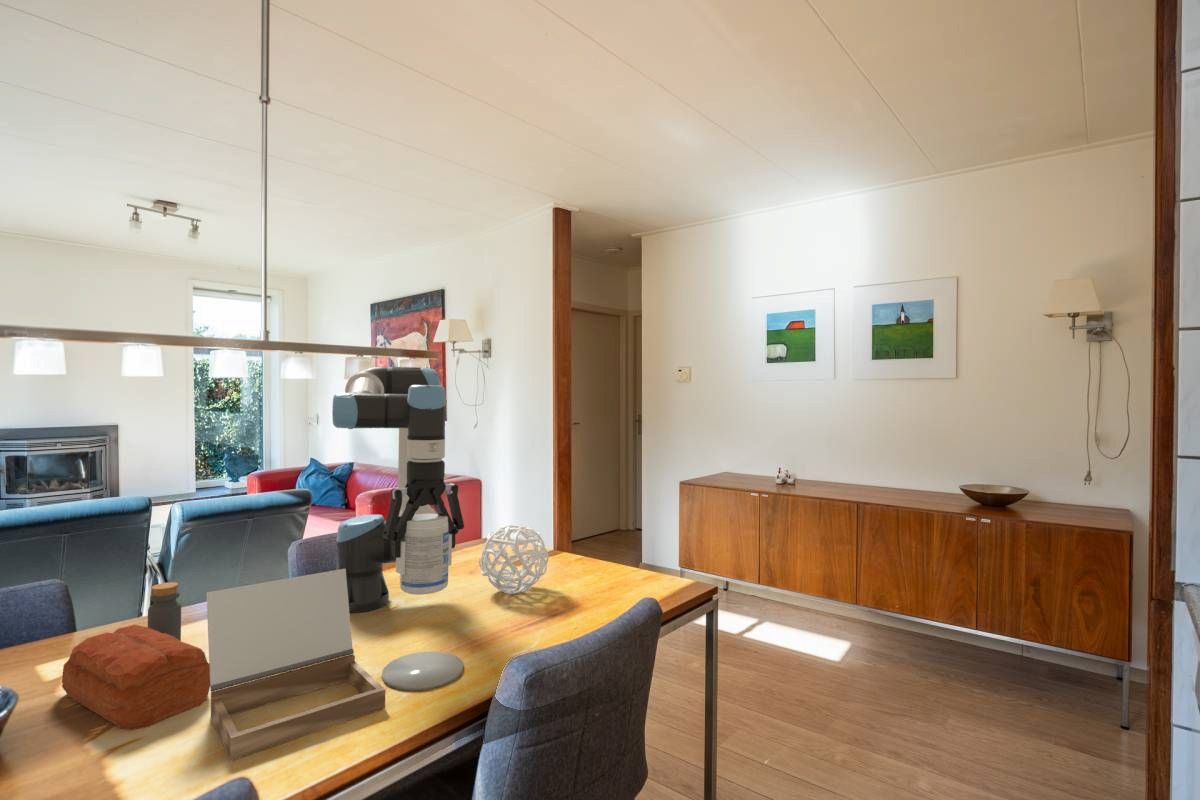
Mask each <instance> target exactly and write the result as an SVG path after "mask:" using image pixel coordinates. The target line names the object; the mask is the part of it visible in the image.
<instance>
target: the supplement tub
mask: <svg viewBox="0 0 1200 800" xmlns="http://www.w3.org/2000/svg"><path fill="white" fill-rule="evenodd" d="M406 529H407V530H406V532H405V534H404V536H403V538H402V540H403V541H405V542H406V552H405V574H403V575H401V574H399V577H400V578H399V582H400V583H399V585H400V586H399V587H400V589H401V591H402V592H404V593H406V594H410V595H429V594H430V595H431V594H435V593H439V592H441V591H443V590H445V589H446V588H447V587H448V585H449V566H448V535H449V530H448V517H447V516H441V515H438V513H435V514H415V515H414V516H413V518H412V520H411V521H407V528H406Z"/></svg>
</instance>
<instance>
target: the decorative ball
mask: <svg viewBox="0 0 1200 800" xmlns="http://www.w3.org/2000/svg"><path fill="white" fill-rule="evenodd" d="M512 533H513V534H514V536H513V538H511V534H512ZM519 535H522V536H519ZM499 538H502V539H499ZM529 543H530V544H531V545H532V546H533V549H527V547H528V545H529ZM495 545H496V546H497V549H494V547H495ZM508 545H510V548H511V551H512V552H513V554H511V556H509V553H508V552H507V550H506V548H508V547H507V546H508ZM519 546H522V548H521V549H520V547H519ZM539 548H540V550H539ZM491 554H492V555H493V556H494V557H493V559H492V560H491V558H490V555H491ZM524 556H525V557H524ZM501 557H502V558H503V560H499V559H500V558H501ZM528 558H529V559H528ZM549 559H550V557H549V552H548V549H546V546H545V542H544V540H543V538H542V537H541V533H539V532H538V531H536V530H535V529H534V528H531V527H527V526H525V525H522V524H514V525H512V524H511V525H501V526H500V527H499V528H498V529H497V530H495V531H493V532H490V533H488V535H487V536H486V541H485V543H484V545H483V547H482V551H481V556H480V558H479V560H478V563H479V567H480V570H481V571H480V573H481V575H482V576H483V577H486V576H487V577H488V578H487V580H488V582H489V583H490V584H491V585H492V586H493V587H494V588H495V589H497V590H499V591H500V592H502V593H505V594H507V595H516V594H519V593H523V594H524V593H526V592H528V591H529V589H530V587H533V586H534V585H535V584H536V583H537V582H538V581H539V580H540V578H541V576H544V575H545V574H546V572H547V570H548V565H547V564H548V562H549ZM516 560H518V561H519V562H520V564H521V566H522V567H521V569H518V567H517V566H516V565H515V564H513V562H515V561H516ZM498 565H499V566H500V565H501V567H500V569H497V568H496V566H498ZM489 566H490V567H489ZM533 566H534V571H535V572H534V571H533V570H532V568H533ZM507 567H509V569H506V568H507ZM515 576H516V577H515ZM527 576H530V577H528V578H527ZM525 578H527V579H525ZM524 579H525V580H524Z"/></svg>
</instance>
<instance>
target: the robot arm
mask: <svg viewBox="0 0 1200 800" xmlns="http://www.w3.org/2000/svg"><path fill="white" fill-rule="evenodd" d="M440 381H441V380H440V377H439V373H438V372H437V370H435V369H433V368H429V367H422V366H421V367H419V366H418V367H411V366H410V367H408V366H376V367H375V366H374V367H370V368H366V369H363V370H361V371H358V372H356V373H355V374H353V375H352V376H350V377H349V379H348V380H347V382H346V384H345V389H344V392H341V393H340V392H339V393H335V394H334V395H333V397H332V408H331V409H332V416H331V417H332V424H333V426H334V427H335V428H337V429H348V430H353V429H398V459H397V461H398V462H397V463H398V464H397V465H398V467H397V468H398V469H397V471H398V473H397V474H398V475H397V488H396V487H395V488H392V489H391V490H390V497H391V499H390V500H391V501H390V504H389V505H390V506H389V508H388V512H387V516H386V520H385V517H384V516H383V515H382V514H365V515H360V516H355V517H351V518H349V519H346V520H344V521H342V522H341V523H340V524H339V525H338V528H337V535H336V536H337V537H336V539H335V540H336V543H337V545H336V547H337V548H336V551H337V553H336V570H340V569H345V568H346V579H347V591H348V602H349V613H362V612H368V611H371V610H377V609H379V608H382V607H383V606H385V605H386V604H388V602H389V601H390V593H389V592H390V591H389V588H388V585H387V582H386V580H385V577H384V573H383V572H384V570H383V568H384V567H383V565H384V564H393V563H394V564H395V572H396V573H398V574H399V575H400V574H401V575H403V574H405V552H406V542H405V541H403V540H402V538H403V536H404V534H405V532H406V530H407V529H406V528H407V521H411V520H412V518H413V516H414V515H415V514H438V515H441V516H447V517H448V530H449V535H448V567H450V566H452V558H453V555H452V554H453V553H452V552H453V551H452V549H455V547H456V535H457V534H458V533H459V531H460V530H463V529H464V528H465V522H464V518H463V514H462V509H461V506H460V501H459V497H458V492H459V485H458V484H456V483H452V482H451V483H450V482H449V483H445V471H446V470H445V469H446V468H445V467H446V465H445V464H446V462H445V461H444V460H443V459H444V458H446V457H445V456H446V452H445V451H446V409H447V408H446V405H447V399H446V388H445V387H444V386H443V385H441V382H440ZM444 492H445V494H446V497H447V502H448V507H449V512H450V514H449V512H448V510H447V507H446V506H445V503H444V500H443V498H442V495H443V493H444ZM431 506H432V507H433V508H434V509H433V508H432V507H431Z"/></svg>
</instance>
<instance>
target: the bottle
mask: <svg viewBox="0 0 1200 800" xmlns="http://www.w3.org/2000/svg"><path fill="white" fill-rule="evenodd" d="M178 586H179V583H178V582H176V581H175V582H162V583H157V584H154V585H153V586H151V592H152V594H151V595H150V597H149V599H150V600H149V601H151V602H153V603H152V604H151V605H150V606H149V607H148V608H147V627H148V628H151V629H154V630H156V631H159V632H160V633H166V634H169V635H171V636H173V637H175V638H177V639H178V640H180V641H181V640H182V639H181V638H182V604H181V601H179V600H177V599H178V598H179V597H180V591H179V590H178ZM181 642H182V641H181Z"/></svg>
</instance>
